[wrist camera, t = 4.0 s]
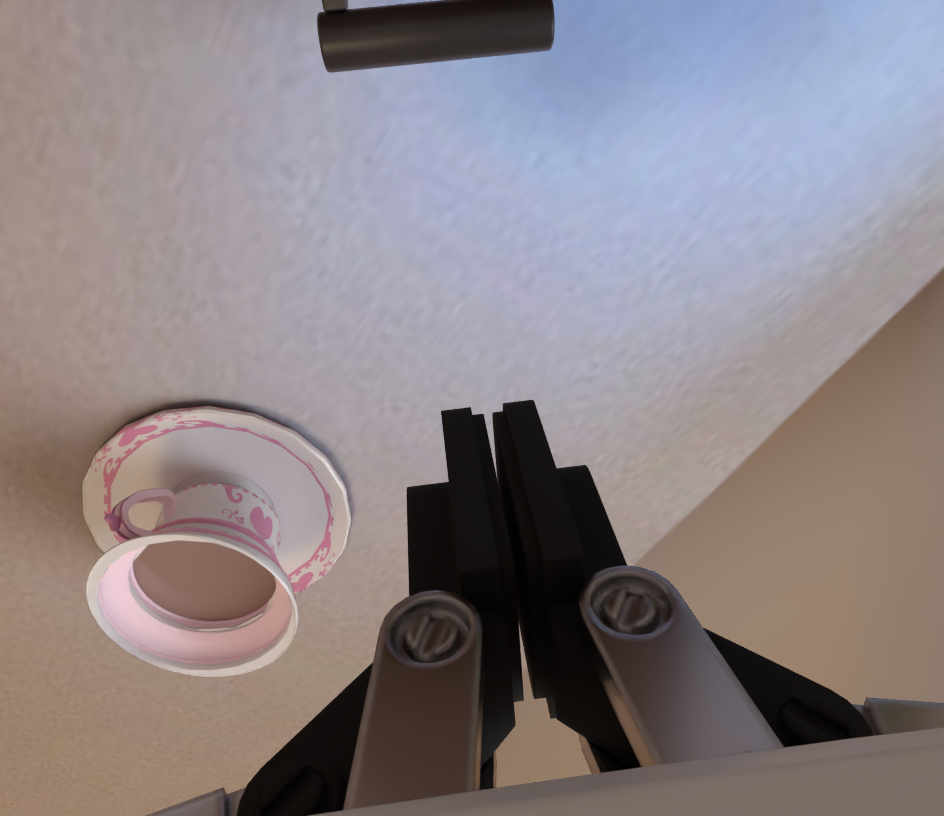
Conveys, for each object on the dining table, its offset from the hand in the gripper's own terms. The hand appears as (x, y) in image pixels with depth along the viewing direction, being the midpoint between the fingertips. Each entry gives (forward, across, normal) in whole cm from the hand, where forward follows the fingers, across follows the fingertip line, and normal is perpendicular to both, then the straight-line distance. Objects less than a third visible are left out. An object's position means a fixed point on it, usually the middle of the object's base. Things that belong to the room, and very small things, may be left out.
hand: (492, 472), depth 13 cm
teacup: (+16, +12, +13) cm, 24 cm away
